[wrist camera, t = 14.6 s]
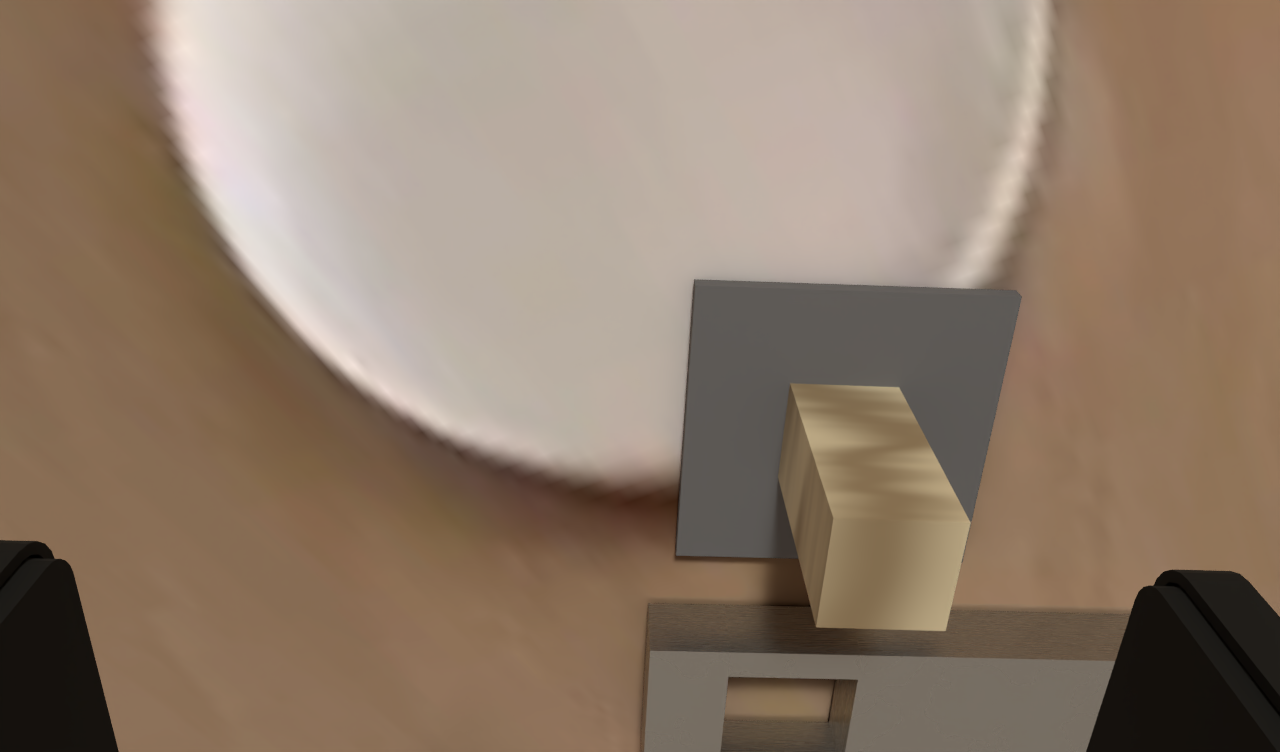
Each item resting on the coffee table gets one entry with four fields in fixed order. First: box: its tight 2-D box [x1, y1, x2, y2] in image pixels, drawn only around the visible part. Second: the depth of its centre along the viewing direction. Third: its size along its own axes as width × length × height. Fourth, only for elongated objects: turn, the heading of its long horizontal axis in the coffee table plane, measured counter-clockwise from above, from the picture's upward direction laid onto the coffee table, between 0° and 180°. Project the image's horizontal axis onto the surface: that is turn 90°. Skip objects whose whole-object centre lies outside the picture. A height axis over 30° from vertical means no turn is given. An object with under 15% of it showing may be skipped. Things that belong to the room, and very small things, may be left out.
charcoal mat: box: [676, 280, 1022, 563], centre depth 40 cm, size 12×12×1 cm
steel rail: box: [641, 603, 1130, 752], centre depth 45 cm, size 22×8×3 cm, turn 88°
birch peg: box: [778, 383, 971, 631], centre depth 36 cm, size 4×4×9 cm
